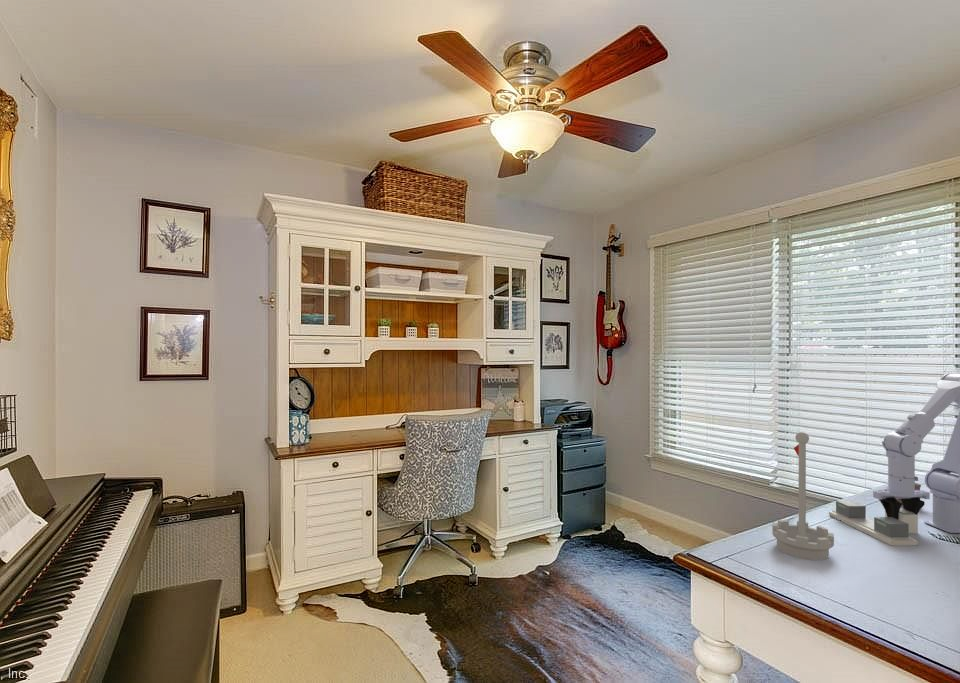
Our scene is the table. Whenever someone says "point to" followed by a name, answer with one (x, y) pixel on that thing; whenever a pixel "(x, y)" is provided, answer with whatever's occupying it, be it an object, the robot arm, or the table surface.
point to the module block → (908, 519)
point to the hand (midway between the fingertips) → (901, 524)
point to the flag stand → (802, 521)
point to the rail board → (873, 523)
